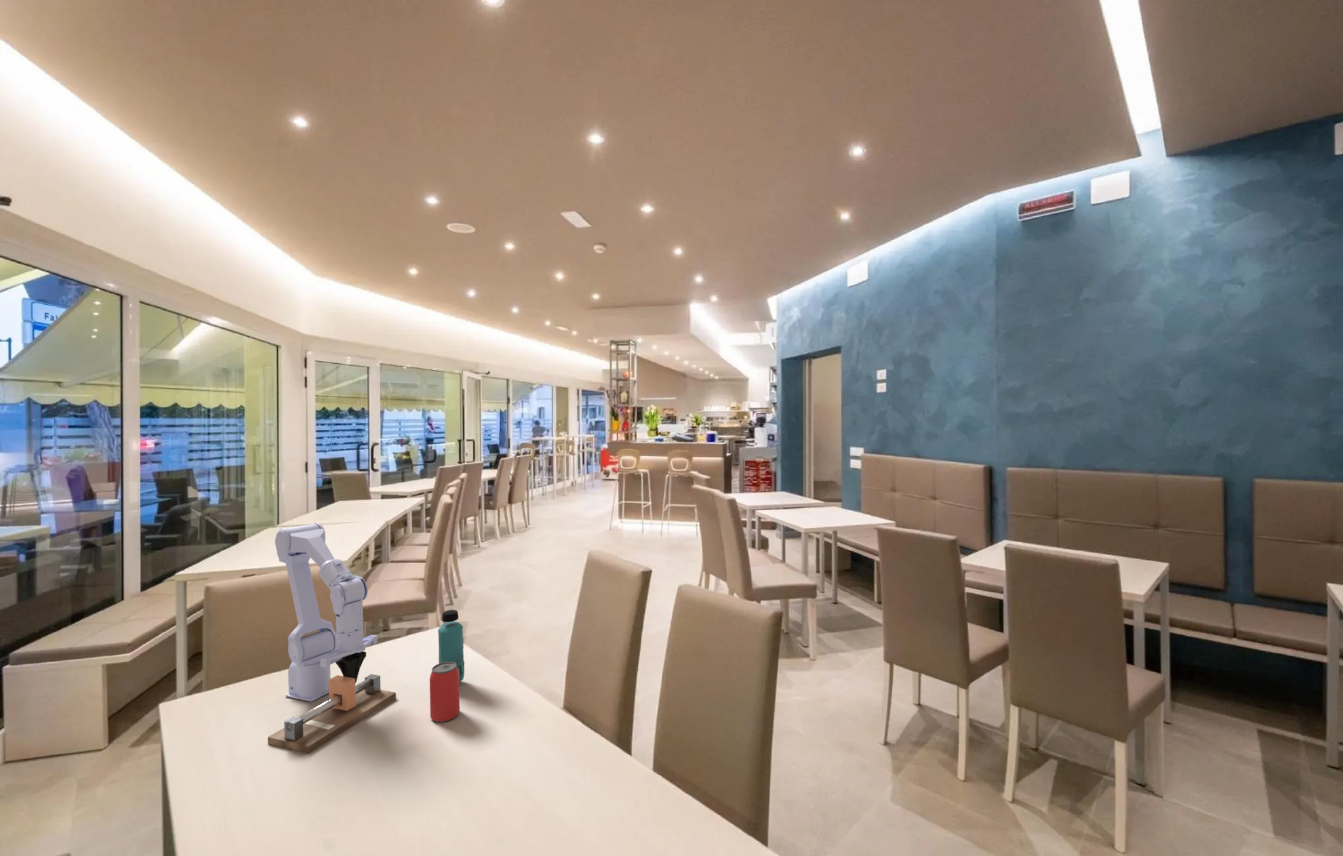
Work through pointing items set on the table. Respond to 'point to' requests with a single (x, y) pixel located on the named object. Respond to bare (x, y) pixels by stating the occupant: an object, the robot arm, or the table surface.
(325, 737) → the board
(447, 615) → the beverage bottle
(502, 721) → the table surface
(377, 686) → the pipe stand
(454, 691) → the beer can
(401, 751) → the table surface
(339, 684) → the collar
